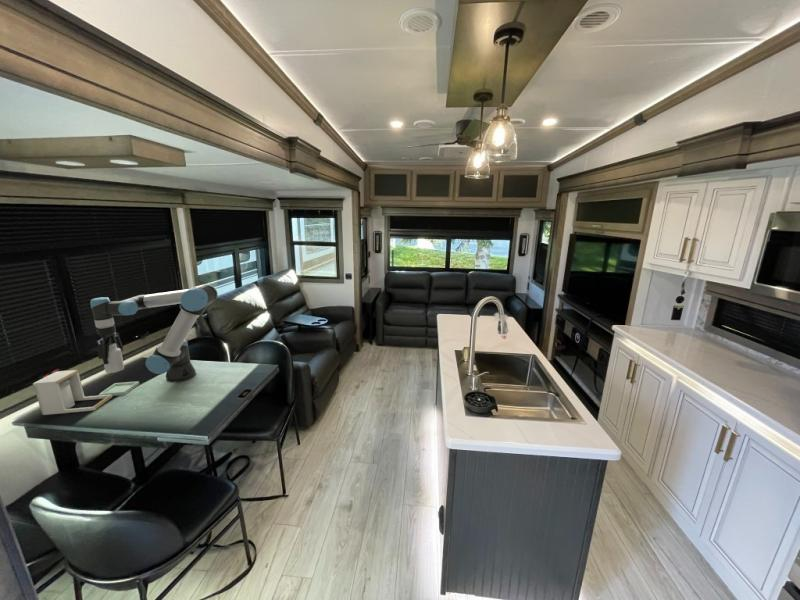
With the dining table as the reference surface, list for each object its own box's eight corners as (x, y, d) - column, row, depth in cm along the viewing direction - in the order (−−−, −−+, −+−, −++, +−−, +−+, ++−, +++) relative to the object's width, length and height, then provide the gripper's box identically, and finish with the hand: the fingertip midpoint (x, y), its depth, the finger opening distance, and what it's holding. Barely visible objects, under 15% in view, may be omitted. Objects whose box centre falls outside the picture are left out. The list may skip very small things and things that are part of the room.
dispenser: (112, 396, 171) (105, 367, 167) (94, 410, 159) (86, 379, 155) (64, 401, 168) (56, 371, 164) (42, 415, 155) (32, 383, 151)
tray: (139, 384, 185) (138, 381, 185) (125, 394, 173) (124, 391, 173) (115, 385, 183) (114, 383, 183) (99, 396, 171) (98, 394, 171)
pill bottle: (113, 374, 171) (107, 347, 167) (101, 372, 172) (95, 346, 169) (128, 367, 178) (123, 342, 175) (117, 366, 180) (111, 341, 177)
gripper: (111, 321, 179) (119, 358, 184) (82, 332, 159) (92, 374, 164) (126, 320, 180) (134, 357, 185) (99, 332, 160) (108, 373, 165)
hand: (114, 365), depth 175 cm, fingers closed on pill bottle, 8 cm apart
